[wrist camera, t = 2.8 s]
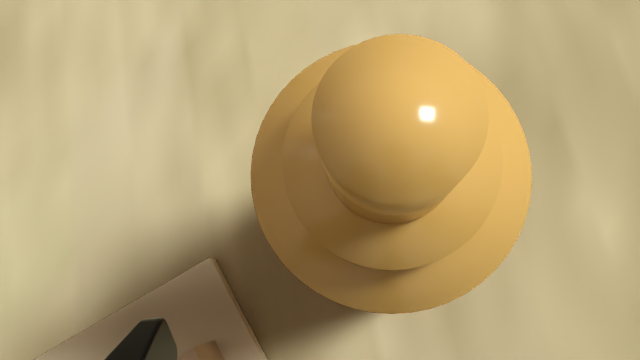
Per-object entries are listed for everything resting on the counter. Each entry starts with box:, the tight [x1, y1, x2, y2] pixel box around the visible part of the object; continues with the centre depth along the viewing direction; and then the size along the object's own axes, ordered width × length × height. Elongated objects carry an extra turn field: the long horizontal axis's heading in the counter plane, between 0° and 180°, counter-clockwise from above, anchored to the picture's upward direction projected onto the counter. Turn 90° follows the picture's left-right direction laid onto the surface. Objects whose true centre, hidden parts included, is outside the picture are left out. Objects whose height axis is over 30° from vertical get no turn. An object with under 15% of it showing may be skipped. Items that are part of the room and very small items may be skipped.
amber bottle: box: [251, 34, 532, 314], centre depth 14 cm, size 6×6×13 cm
